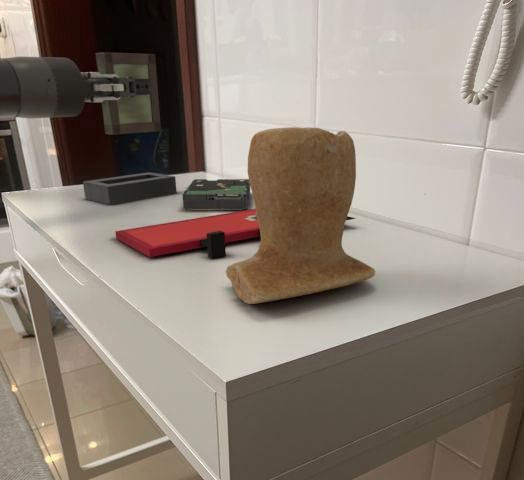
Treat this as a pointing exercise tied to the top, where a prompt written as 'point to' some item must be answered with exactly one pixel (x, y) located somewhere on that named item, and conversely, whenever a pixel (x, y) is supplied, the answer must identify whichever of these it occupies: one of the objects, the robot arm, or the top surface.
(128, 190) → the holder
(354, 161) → the brown stone sculpture
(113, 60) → the picture frame
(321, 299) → the top surface
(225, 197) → the disk drive
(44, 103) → the robot arm
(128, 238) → the red board with handle
